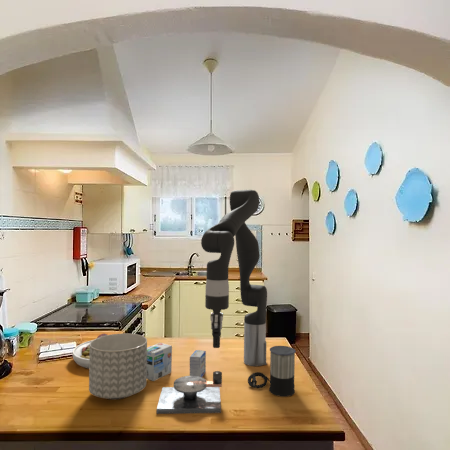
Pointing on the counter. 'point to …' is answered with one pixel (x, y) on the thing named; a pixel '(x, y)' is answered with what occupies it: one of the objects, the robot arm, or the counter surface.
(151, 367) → the light bulb box
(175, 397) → the base
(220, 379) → the handwheel
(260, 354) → the robot arm
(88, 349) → the bowl
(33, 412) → the counter surface
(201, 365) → the medicine box
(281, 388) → the milk frother
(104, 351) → the planter
